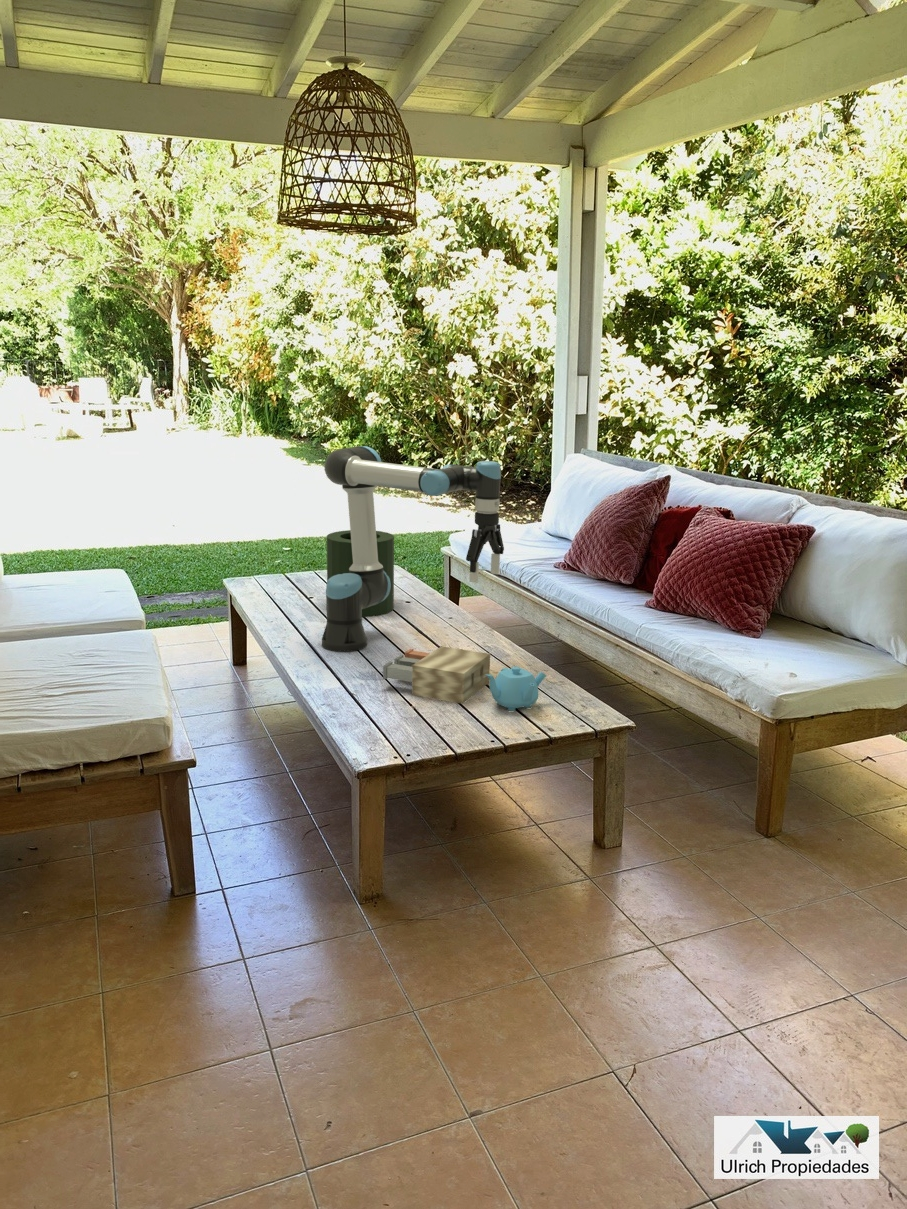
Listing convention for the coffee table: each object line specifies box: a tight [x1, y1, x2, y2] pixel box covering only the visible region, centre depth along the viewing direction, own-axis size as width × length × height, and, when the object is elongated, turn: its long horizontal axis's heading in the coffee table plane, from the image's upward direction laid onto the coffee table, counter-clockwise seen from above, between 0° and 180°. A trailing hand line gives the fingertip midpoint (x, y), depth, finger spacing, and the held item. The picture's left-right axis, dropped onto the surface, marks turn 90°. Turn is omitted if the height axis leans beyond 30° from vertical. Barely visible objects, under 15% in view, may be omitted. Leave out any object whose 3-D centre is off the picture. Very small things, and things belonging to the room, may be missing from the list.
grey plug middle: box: [393, 654, 420, 667], centre depth 285 cm, size 17×4×4 cm, turn 66°
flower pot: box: [326, 529, 395, 618], centre depth 362 cm, size 25×25×28 cm
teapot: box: [485, 666, 547, 712], centre depth 268 cm, size 15×14×11 cm
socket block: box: [411, 646, 491, 705], centre depth 281 cm, size 16×20×9 cm
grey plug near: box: [382, 661, 413, 683], centre depth 279 cm, size 17×4×4 cm, turn 66°
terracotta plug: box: [404, 648, 431, 660], centre depth 291 cm, size 17×4×4 cm, turn 66°
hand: (484, 577), depth 304 cm, fingers open, 13 cm apart
